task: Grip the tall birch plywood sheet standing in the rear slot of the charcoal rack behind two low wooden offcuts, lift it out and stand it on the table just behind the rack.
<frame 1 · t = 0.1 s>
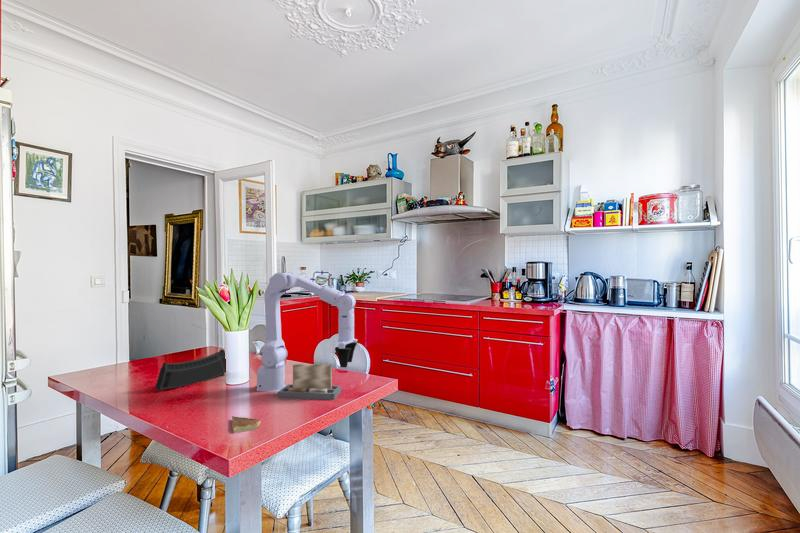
hand: (346, 364, 140), 10 cm above the table, tool pointing down, fingers open, 7 cm apart
offcut a: (297, 395, 134), point 1 cm above the table, touching rack
offcut b: (318, 396, 133), point 1 cm above the table, touching rack
sheet: (312, 392, 138), point 1 cm above the table, touching rack
magazine: (197, 383, 153), on the table
shard: (239, 429, 109), on the table
rack: (310, 396, 136), on the table
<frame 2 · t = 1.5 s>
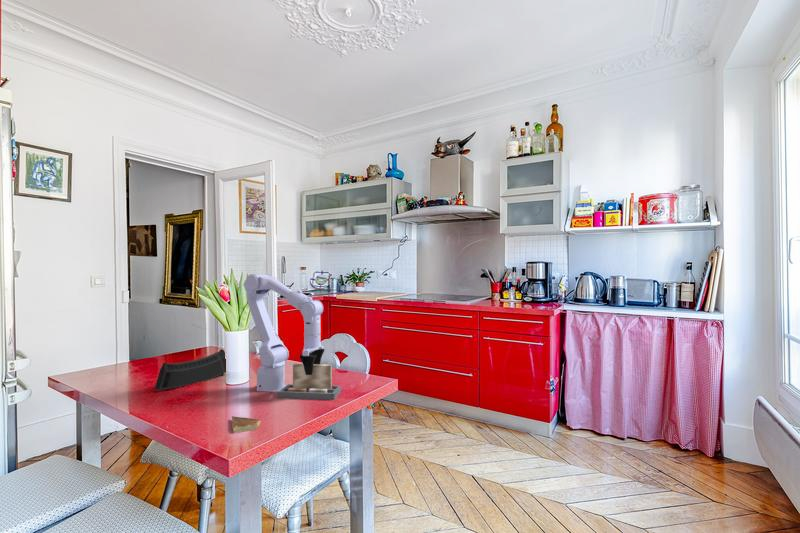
hand: (312, 371, 138), 8 cm above the table, tool pointing down, fingers open, 7 cm apart
nothing on the table moved.
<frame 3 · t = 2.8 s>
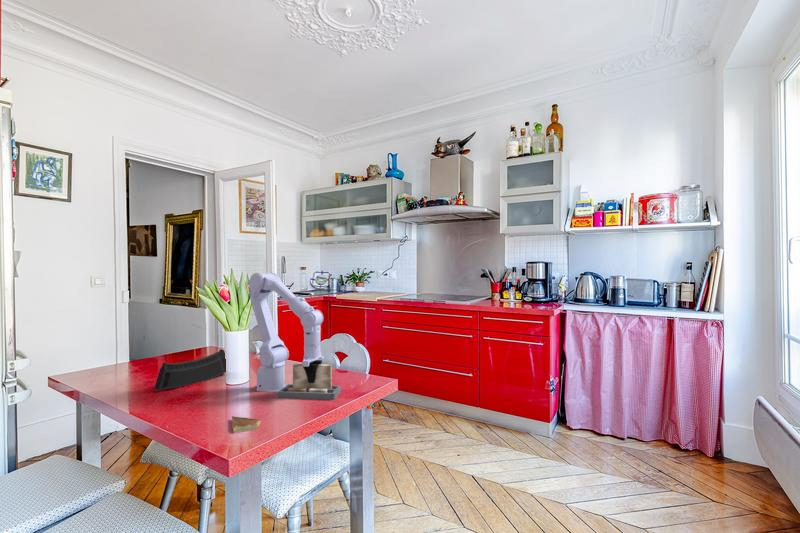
hand: (312, 381, 138), 4 cm above the table, tool pointing down, fingers closed on sheet, 1 cm apart
sheet: (312, 392, 138), point 1 cm above the table, touching gripper, rack
everything else where it was.
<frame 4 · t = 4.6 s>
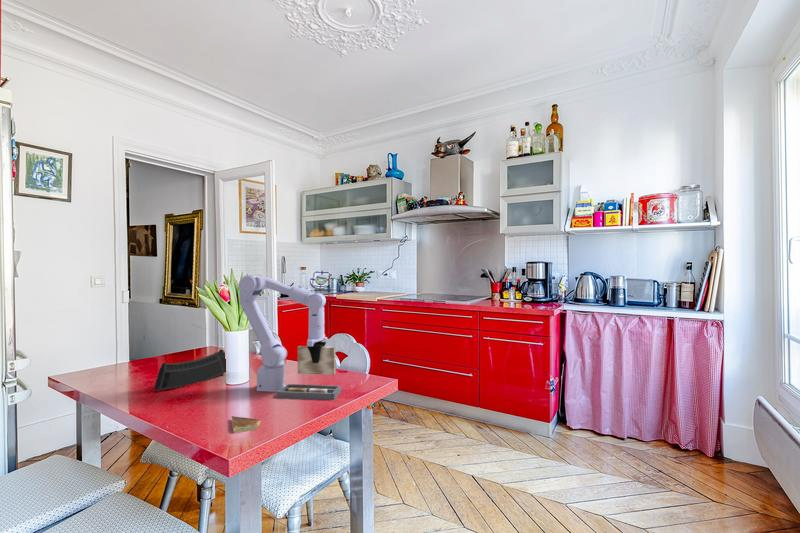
hand: (316, 362, 143), 10 cm above the table, tool pointing down, fingers closed on sheet
sheet: (316, 373, 142), point 6 cm above the table, touching gripper
everything else where it was.
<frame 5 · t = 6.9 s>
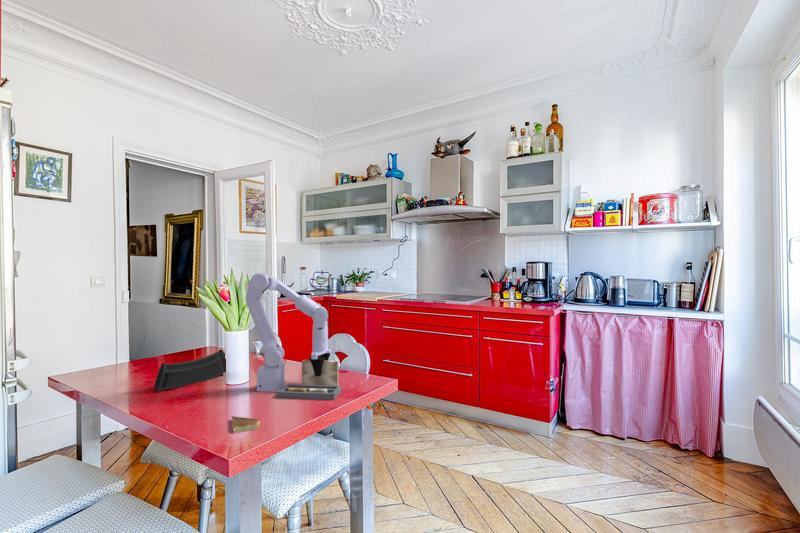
hand: (320, 374, 147), 5 cm above the table, tool pointing down, fingers open, 5 cm apart
sheet: (320, 386, 147), on the table
everything else where it was.
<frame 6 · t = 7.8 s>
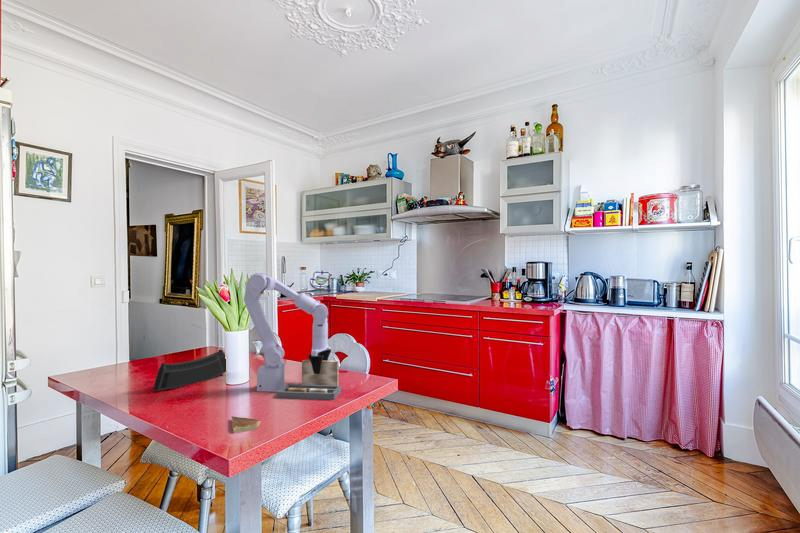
hand: (320, 371, 147), 6 cm above the table, tool pointing down, fingers open, 7 cm apart
nothing on the table moved.
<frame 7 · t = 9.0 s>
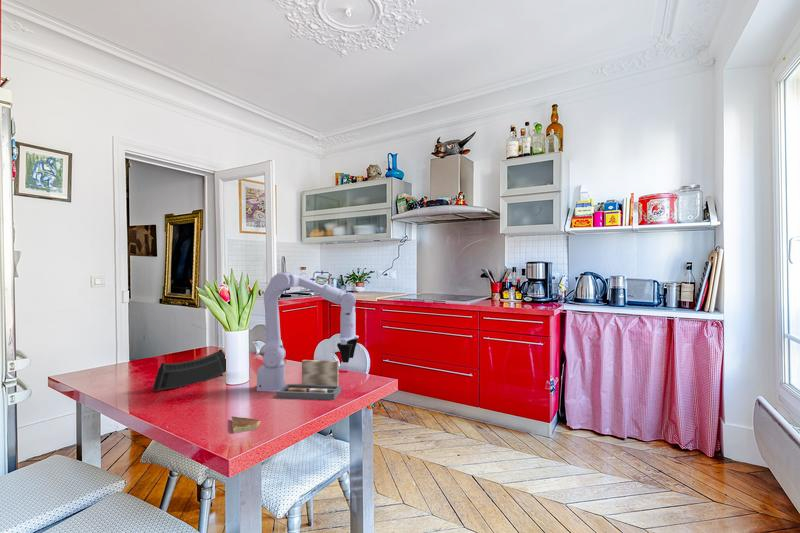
hand: (348, 360, 146), 10 cm above the table, tool pointing down, fingers open, 7 cm apart
nothing on the table moved.
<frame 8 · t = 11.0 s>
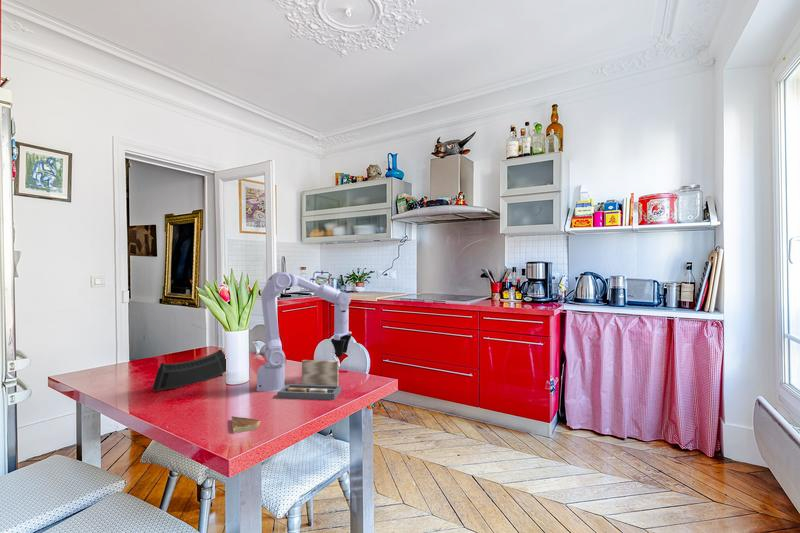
hand: (341, 354, 155), 10 cm above the table, tool pointing down, fingers open, 7 cm apart
nothing on the table moved.
at the end: sheet inside the target area (0.2 cm from its centre), on the table; sheet tilted 0°; offcut a moved 0.0 cm from its start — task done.
